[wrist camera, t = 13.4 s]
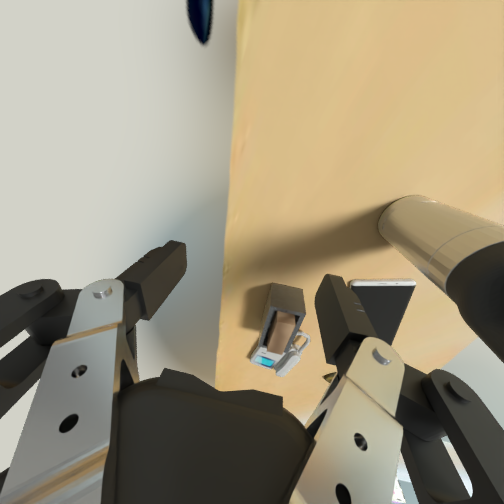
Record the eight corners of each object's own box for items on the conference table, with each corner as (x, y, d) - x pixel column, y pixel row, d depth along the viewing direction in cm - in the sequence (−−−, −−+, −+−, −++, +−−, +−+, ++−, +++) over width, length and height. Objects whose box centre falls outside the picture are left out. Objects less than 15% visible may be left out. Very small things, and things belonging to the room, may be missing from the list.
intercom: (320, 343, 50) (283, 380, 63) (317, 329, 54) (283, 367, 67) (276, 327, 49) (248, 368, 62) (276, 314, 53) (249, 355, 66)
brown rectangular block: (294, 307, 43) (295, 325, 39) (282, 337, 49) (282, 355, 45) (277, 304, 43) (277, 321, 39) (267, 333, 50) (266, 351, 45)
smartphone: (338, 345, 56) (339, 351, 55) (349, 278, 43) (352, 282, 42) (385, 348, 54) (388, 354, 52) (413, 277, 41) (418, 282, 39)
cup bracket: (302, 289, 46) (306, 314, 39) (286, 327, 55) (287, 353, 48) (272, 282, 47) (270, 306, 40) (260, 321, 55) (257, 346, 48)
